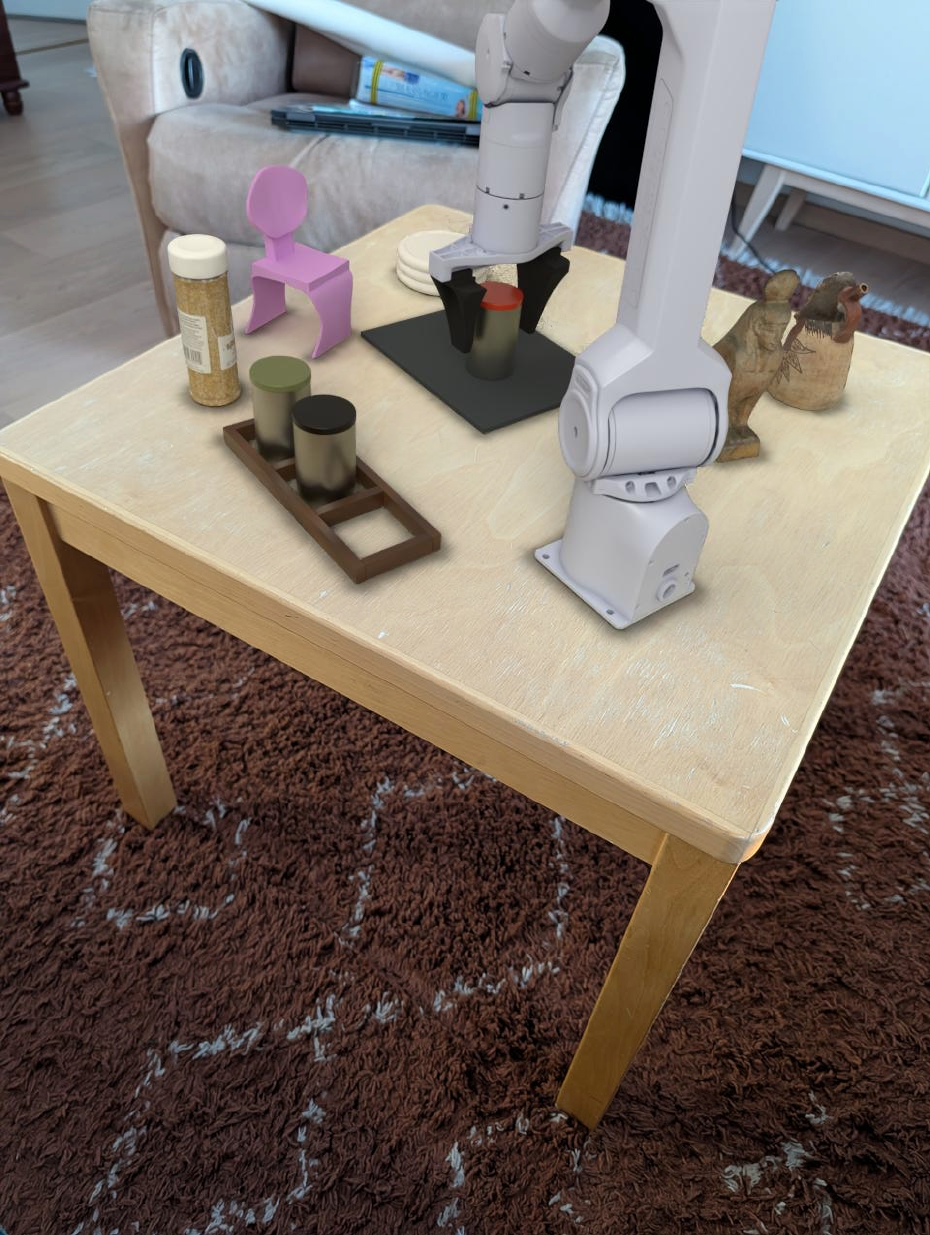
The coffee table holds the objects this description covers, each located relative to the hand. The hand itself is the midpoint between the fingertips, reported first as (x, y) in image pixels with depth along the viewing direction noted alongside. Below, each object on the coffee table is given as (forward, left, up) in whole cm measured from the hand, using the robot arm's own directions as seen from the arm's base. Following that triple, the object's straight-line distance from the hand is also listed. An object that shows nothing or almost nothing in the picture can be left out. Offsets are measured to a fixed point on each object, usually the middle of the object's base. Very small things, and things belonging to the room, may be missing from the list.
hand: (493, 338), depth 86 cm
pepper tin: (-8, +23, -4) cm, 25 cm away
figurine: (-18, -25, -4) cm, 31 cm away
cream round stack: (+19, -8, -4) cm, 21 cm away
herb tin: (-2, +23, -4) cm, 23 cm away
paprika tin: (0, 0, -3) cm, 3 cm away
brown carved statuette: (-17, -12, -4) cm, 21 cm away
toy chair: (+15, +12, -4) cm, 20 cm away
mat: (+2, -1, -4) cm, 4 cm away
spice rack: (-8, +23, -4) cm, 25 cm away
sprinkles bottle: (+9, +24, -4) cm, 26 cm away
